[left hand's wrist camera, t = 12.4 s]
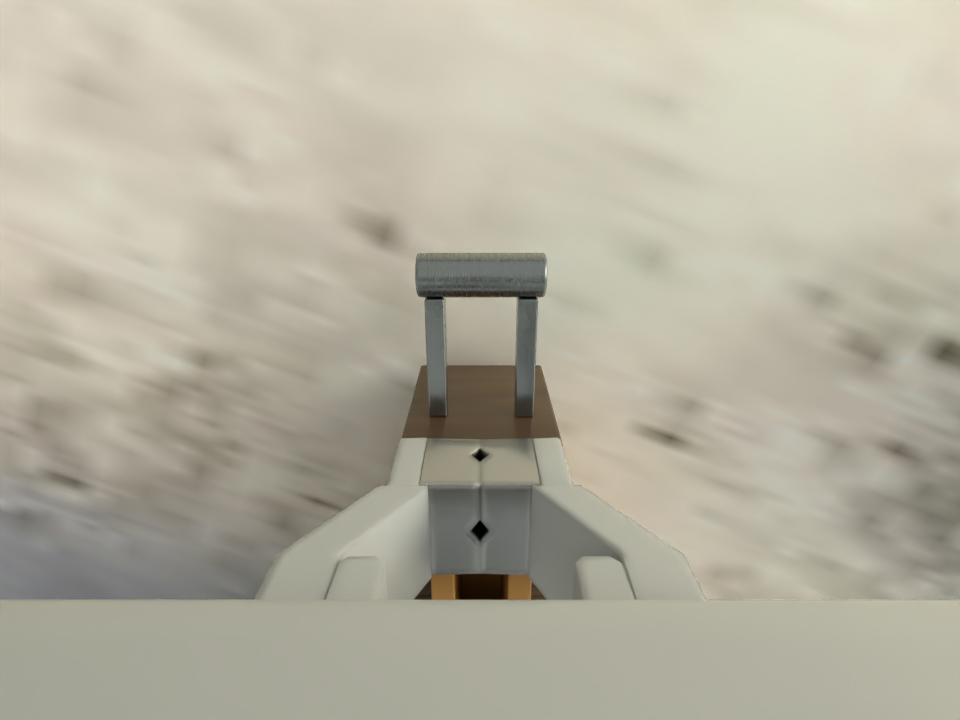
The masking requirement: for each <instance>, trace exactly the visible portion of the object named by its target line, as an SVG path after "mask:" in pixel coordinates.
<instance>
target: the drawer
mask: <svg viewBox="0 0 960 720" xmlns="http://www.w3.org/2000/svg"><path fill="white" fill-rule="evenodd" d="M415 281H416V291H417V295H418V296H419V297H426V298H425V326H426V351H427V366H421V369H420V373H419V377H418V380H417V384H416V388H415V391H414V395H413V399H412V402H411V406H410V410H409V413H408V417H407V421H406V424H405V428H404V432H403V435H402V438H427V439H429V438H443V439H522V438H532V439H536V438H559V439H560V441H561V437H560V434H559V430H558V426H557V423H556V419H555V416H554V412H553V408H552V405H551V401H550V397H549V394H548V390H547V387H546V383H545V379H544V376H543V372H542V368H541V366H535V364H536V339H537V314H538V299H537V297H544V296H545V293H546V287H547V259H546V256H545V254H544V253H419V254H417V257H416V264H415ZM445 297H517V314H516V354H515V366H447V340H446V300H445ZM561 444H562V441H561ZM562 446H563V445H562ZM528 576H529V575H510V574H449V575H432V578H431V595H432V600H531V583H532V581H531V580H530V578H529V577H528Z"/></svg>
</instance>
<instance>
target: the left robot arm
mask: <svg viewBox="0 0 960 720" xmlns="http://www.w3.org/2000/svg"><path fill="white" fill-rule="evenodd" d="M449 574H510V575H529V576H528V577H529V578H530V580H531V581H532V582H533V583H534V585H535V586H536V587H537V588H538V590H539V591H540V592H541V593H542V594H543V596H544V597H545V598H546V599H547V600H414V599H415V597H416V596H417V595H418V594H419V592H420V591H421V590H422V589H423V588H424V586H425V585H426V584H427V583H428V581H429V580H430V579H431V578H432V575H449ZM0 720H960V600H706V598H705V596H704V594H703V592H702V590H701V588H700V586H699V584H698V582H697V580H696V578H695V576H694V574H693V572H692V570H691V568H690V566H689V564H688V562H687V560H686V558H685V556H684V555H683V554H682V553H680V552H679V551H677V550H676V549H674V548H673V547H671V546H670V545H668V544H667V543H665V542H664V541H662V540H661V539H659V538H658V537H656V536H655V535H654V534H652V533H651V532H649V531H648V530H646V529H645V528H643V527H642V526H640V525H639V524H637V523H636V522H634V521H633V520H631V519H630V518H628V517H627V516H625V515H624V514H622V513H621V512H619V511H618V510H616V509H615V508H613V507H612V506H611V505H609V504H608V503H606V502H605V501H603V500H602V499H600V498H599V497H597V496H596V495H594V494H593V493H591V492H590V491H588V490H587V489H585V488H584V487H582V486H581V485H573V483H572V479H571V476H570V472H569V469H568V465H567V462H566V458H565V455H564V451H563V448H562V444H561V441H560V439H559V438H536V439H532V438H522V439H443V438H429V439H427V438H402V439H401V440H400V441H399V443H398V447H397V451H396V454H395V458H394V461H393V465H392V469H391V472H390V476H389V479H388V483H387V485H379V486H378V487H376V488H375V489H373V490H372V491H370V492H369V493H367V494H366V495H364V496H363V497H361V498H360V499H358V500H357V501H355V502H354V503H352V504H351V505H349V506H348V507H346V508H345V509H343V510H342V511H340V512H339V513H337V514H336V515H334V516H333V517H332V518H330V519H329V520H327V521H326V522H324V523H323V524H321V525H320V526H318V527H317V528H315V529H314V530H312V531H311V532H309V533H308V534H306V535H305V536H303V537H302V538H300V539H299V540H297V541H296V542H294V543H293V544H291V545H290V546H288V547H287V548H285V549H284V550H282V551H281V552H279V553H278V554H277V555H276V557H275V559H274V561H273V563H272V565H271V567H270V569H269V571H268V572H267V574H266V576H265V578H264V580H263V582H262V584H261V586H260V588H259V590H258V592H257V594H256V596H255V598H254V600H0Z"/></svg>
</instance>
